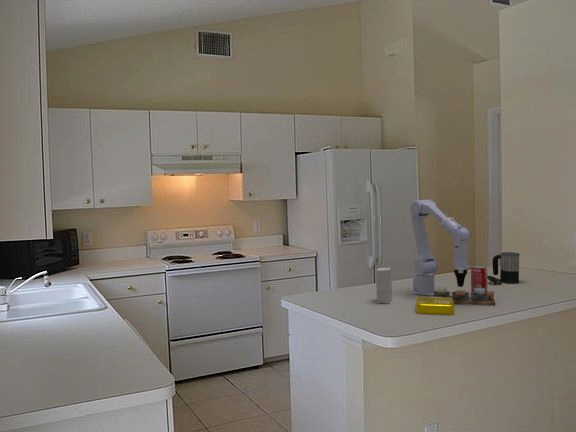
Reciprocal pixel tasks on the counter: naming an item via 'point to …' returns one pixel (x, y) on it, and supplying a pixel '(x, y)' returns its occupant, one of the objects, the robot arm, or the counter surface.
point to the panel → (469, 298)
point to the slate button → (479, 291)
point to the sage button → (441, 290)
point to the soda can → (478, 277)
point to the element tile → (435, 305)
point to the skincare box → (384, 285)
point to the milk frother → (506, 268)
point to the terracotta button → (460, 292)
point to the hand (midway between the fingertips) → (460, 286)
